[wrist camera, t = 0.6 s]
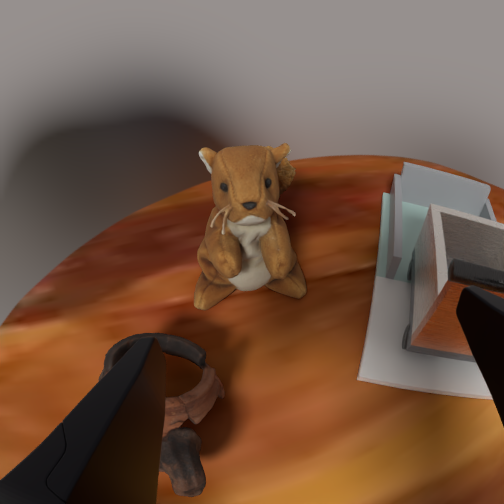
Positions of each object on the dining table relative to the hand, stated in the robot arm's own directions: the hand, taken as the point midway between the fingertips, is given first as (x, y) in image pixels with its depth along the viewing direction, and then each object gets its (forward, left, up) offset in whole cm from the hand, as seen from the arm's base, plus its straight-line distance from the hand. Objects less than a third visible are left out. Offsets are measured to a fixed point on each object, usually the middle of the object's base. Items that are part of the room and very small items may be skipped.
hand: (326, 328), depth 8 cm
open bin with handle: (+1, -16, -14) cm, 22 cm away
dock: (+4, -19, -16) cm, 25 cm away
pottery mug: (+4, +8, -16) cm, 18 cm away
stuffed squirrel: (+17, -4, -16) cm, 23 cm away
